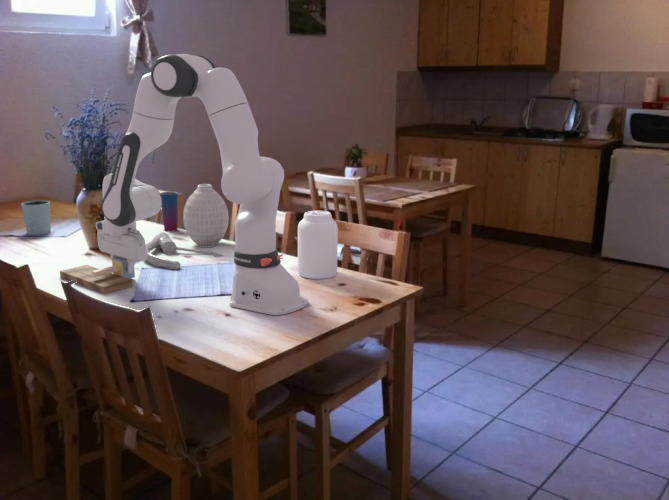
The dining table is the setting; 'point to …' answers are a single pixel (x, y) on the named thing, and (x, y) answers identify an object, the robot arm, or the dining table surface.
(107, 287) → the board
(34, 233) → the pale blue tumbler
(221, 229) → the vase
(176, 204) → the cup
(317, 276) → the white jar
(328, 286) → the dining table surface
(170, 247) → the faucet
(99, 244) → the robot arm
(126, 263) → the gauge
